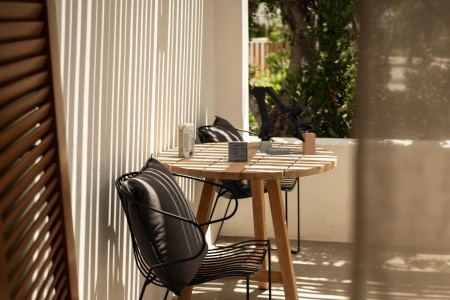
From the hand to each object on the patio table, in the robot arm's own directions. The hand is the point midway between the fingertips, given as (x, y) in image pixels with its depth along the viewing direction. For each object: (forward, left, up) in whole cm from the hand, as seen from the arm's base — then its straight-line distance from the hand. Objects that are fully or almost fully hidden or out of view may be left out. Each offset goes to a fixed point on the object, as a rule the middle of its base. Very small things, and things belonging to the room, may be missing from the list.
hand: (309, 141), depth 463 cm
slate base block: (-4, -18, -8) cm, 20 cm away
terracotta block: (0, 0, -8) cm, 8 cm away
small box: (+18, -49, -8) cm, 53 cm away
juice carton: (-6, -73, -8) cm, 74 cm away
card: (-13, -1, -7) cm, 15 cm away
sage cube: (-15, -22, -8) cm, 28 cm away
